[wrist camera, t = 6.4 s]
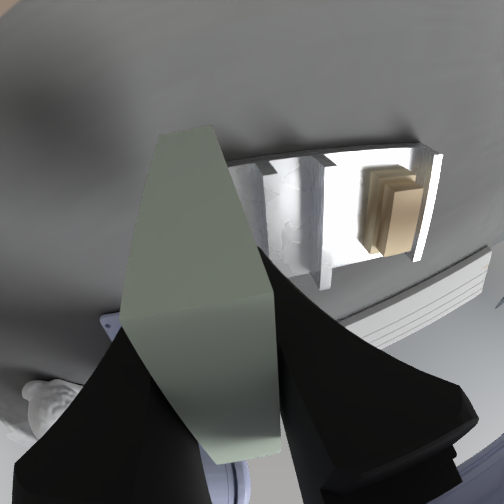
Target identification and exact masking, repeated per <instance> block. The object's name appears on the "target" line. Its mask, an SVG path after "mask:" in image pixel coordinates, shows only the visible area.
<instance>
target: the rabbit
mask: <svg viewBox="0 0 504 504" xmlns="http://www.w3.org/2000/svg"><path fill="white" fill-rule="evenodd" d="M82 388H83V386H81V385H77V384H74V383H70V382H67V381H64V380H60V379H55V380H52V381H49V382H48V381H42V380H34V381H30V382H27V383H26V384H25V386H24V387H23V389H22V396H23V398H24V399H26V400H28V401H29V407H28V421H29V424H30V427H31V429H32V431H33V433H34V435H35V436H36V437H37V438H38V440H39V439H40V438H41V437H42V436H43V435H44V434H45V433H46V432H47V431H48V430H49V428H50V427H51V426H52V425H53V424H54V423H55V422H56V421H57V419H58V418H59V417H60V416H61V415H62V414H63V412H64V411H65V410H66V409H67V408H68V406H69V405H70V404H71V402H72V401H73V400H74V398H75V397H76V396H77V394H78V393H79V392H80V390H81V389H82Z"/></svg>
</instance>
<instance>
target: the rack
mask: <svg viewBox="0 0 504 504" xmlns="http://www.w3.org/2000/svg"><path fill="white" fill-rule="evenodd" d="M441 162H442V154H440V153H439V152H437V151H435V150H433V149H432V148H430V147H428V146H426V145H424V144H423V143H395V144H376V145H360V146H347V147H335V148H325V149H315V150H305V151H297V152H288V153H280V154H273V155H265V156H258V157H251V158H245V159H238V160H232V161H226V164H227V167H228V169H229V172H230V175H231V177H232V180H233V183H234V186H235V188H236V191H237V194H238V196H239V199H240V202H241V204H242V207H243V210H244V213H245V215H246V218H247V221H248V223H249V226H250V229H251V232H252V234H253V237H254V240H255V243H256V245H257V246H258V247H259V248H261V249H262V250H263V252H264V253H265V254H266V255H267V257H268V258H269V259H270V260H271V261H272V262H273V264H274V265H275V266H276V267H277V268H278V269H279V270H280V271H281V272H282V273H283V274H284V275H285V276H286V277H287V278H288V277H292V276H297V275H302V274H306V273H311V275H312V277H313V279H314V281H315V283H316V285H317V286H318V288H319V290H324V289H328V288H330V285H331V275H332V268H334V267H338V266H343V265H347V264H352V263H356V262H360V261H365V260H369V259H373V258H378V257H382V254H381V253H377V254H373V255H369V253H368V252H367V251H366V249H365V248H364V247H363V240H364V232H365V224H366V216H367V207H368V197H369V186H370V175H371V171H379V170H390V169H400V168H407V169H408V170H410V171H411V172H413V173H414V174H416V180H415V182H416V183H417V184H419V185H420V186H421V187H423V188H424V189H423V195H422V200H421V206H420V211H419V216H418V221H417V225H416V230H415V235H414V239H413V243H412V247H411V251H408V252H404V253H405V254H406V255H407V256H408V257H409V258H410V260H411V261H412V262H415V261H419V260H420V259H421V256H422V252H423V248H424V244H425V241H426V237H427V232H428V228H429V224H430V220H431V215H432V211H433V206H434V201H435V196H436V191H437V186H438V180H439V175H440V169H441Z"/></svg>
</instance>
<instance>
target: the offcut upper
mask: <svg viewBox="0 0 504 504" xmlns="http://www.w3.org/2000/svg"><path fill="white" fill-rule="evenodd" d="M423 189H424V188H423V187H421V186H420V185H419V184H417V183H416V182H415V181H404V182H395V183H387V184H385V186H384V194H383V202H382V210H381V217H380V224H379V231H378V237H377V243H376V248H377V250H378V251H379V252H380V253H381V254H382V256H383V257H387V256H391V255H395V254H400V253H404V252H408V251H411V247H412V243H413V239H414V235H415V230H416V225H417V221H418V216H419V211H420V206H421V200H422V195H423Z"/></svg>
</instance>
